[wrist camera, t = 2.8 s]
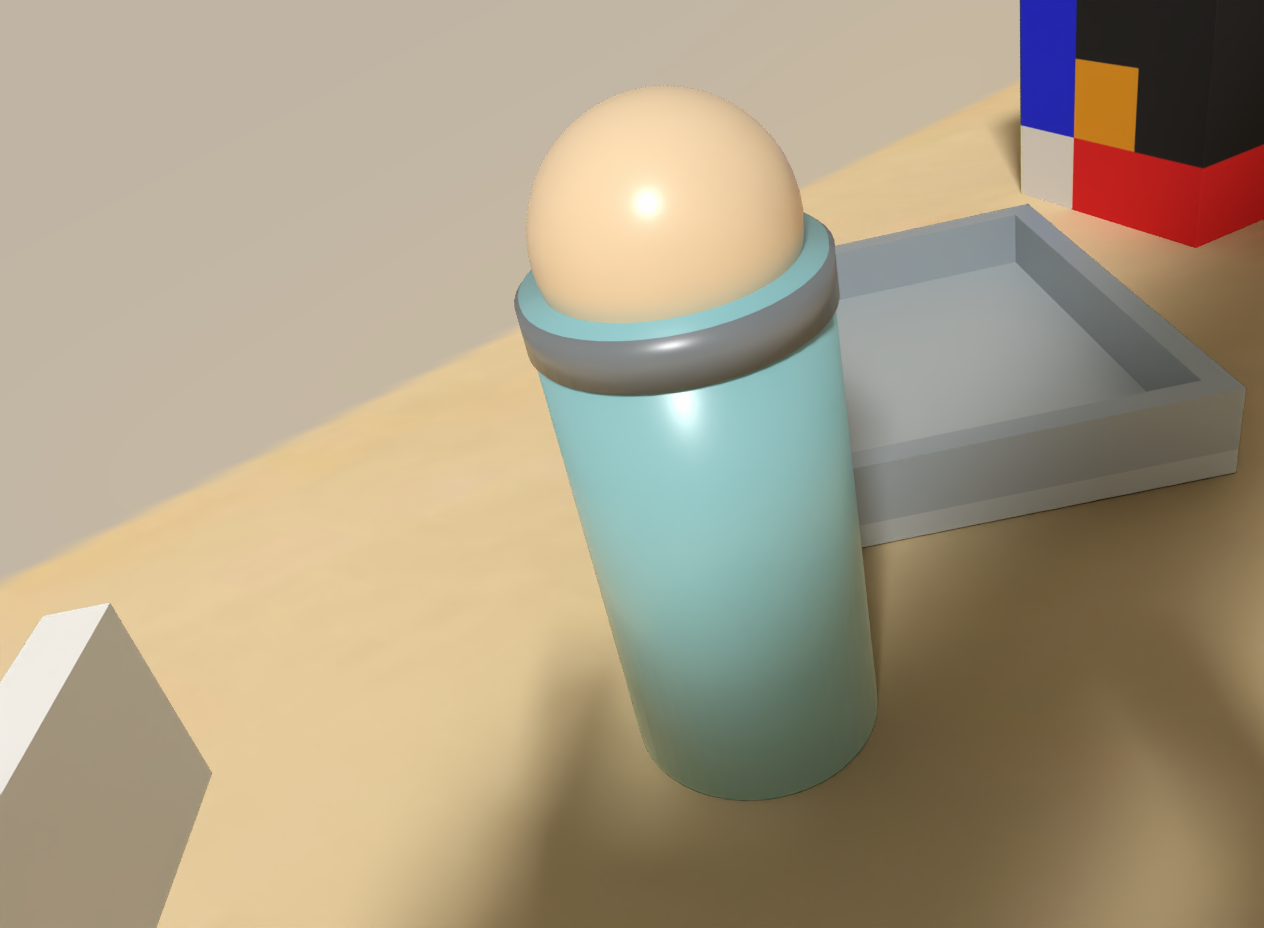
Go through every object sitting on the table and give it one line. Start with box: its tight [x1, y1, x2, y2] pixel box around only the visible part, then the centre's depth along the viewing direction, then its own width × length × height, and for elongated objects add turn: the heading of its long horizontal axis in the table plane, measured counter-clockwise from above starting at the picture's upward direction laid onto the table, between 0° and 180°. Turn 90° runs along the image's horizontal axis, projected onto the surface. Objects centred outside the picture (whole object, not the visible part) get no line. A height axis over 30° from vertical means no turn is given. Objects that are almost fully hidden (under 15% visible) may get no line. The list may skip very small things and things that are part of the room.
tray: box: [835, 204, 1246, 547], centre depth 36 cm, size 16×16×3 cm
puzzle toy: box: [1020, 0, 1264, 248], centre depth 44 cm, size 10×10×10 cm
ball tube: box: [514, 86, 878, 801], centre depth 22 cm, size 6×6×15 cm
